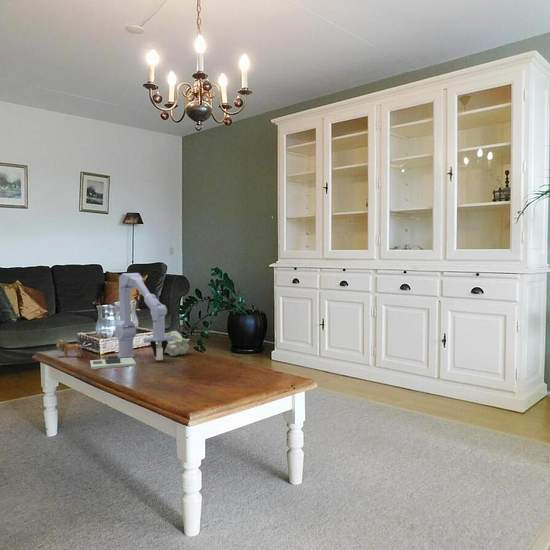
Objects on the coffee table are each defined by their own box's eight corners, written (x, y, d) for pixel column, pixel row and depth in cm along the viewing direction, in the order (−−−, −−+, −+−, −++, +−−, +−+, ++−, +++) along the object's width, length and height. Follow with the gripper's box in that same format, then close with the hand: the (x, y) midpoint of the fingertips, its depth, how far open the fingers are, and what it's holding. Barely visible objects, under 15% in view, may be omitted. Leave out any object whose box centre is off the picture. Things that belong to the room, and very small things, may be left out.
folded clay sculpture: (183, 366, 262) (195, 342, 260) (163, 364, 253) (176, 338, 251) (168, 349, 274) (180, 325, 272) (149, 345, 265) (161, 321, 263)
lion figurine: (54, 358, 251) (54, 340, 250) (58, 356, 256) (58, 339, 256) (84, 357, 252) (84, 340, 252) (87, 355, 257) (87, 338, 257)
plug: (155, 358, 246) (155, 346, 246) (161, 357, 247) (161, 345, 247) (156, 360, 241) (156, 347, 241) (162, 359, 243) (162, 347, 242)
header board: (90, 362, 240) (90, 356, 240) (132, 359, 248) (132, 353, 247) (91, 369, 226) (91, 362, 226) (135, 365, 234) (135, 359, 234)
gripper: (145, 331, 237) (145, 358, 238) (174, 329, 243) (174, 356, 243) (143, 329, 244) (143, 356, 244) (172, 327, 249) (172, 354, 250)
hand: (158, 356), depth 244 cm, fingers closed on plug, 3 cm apart
